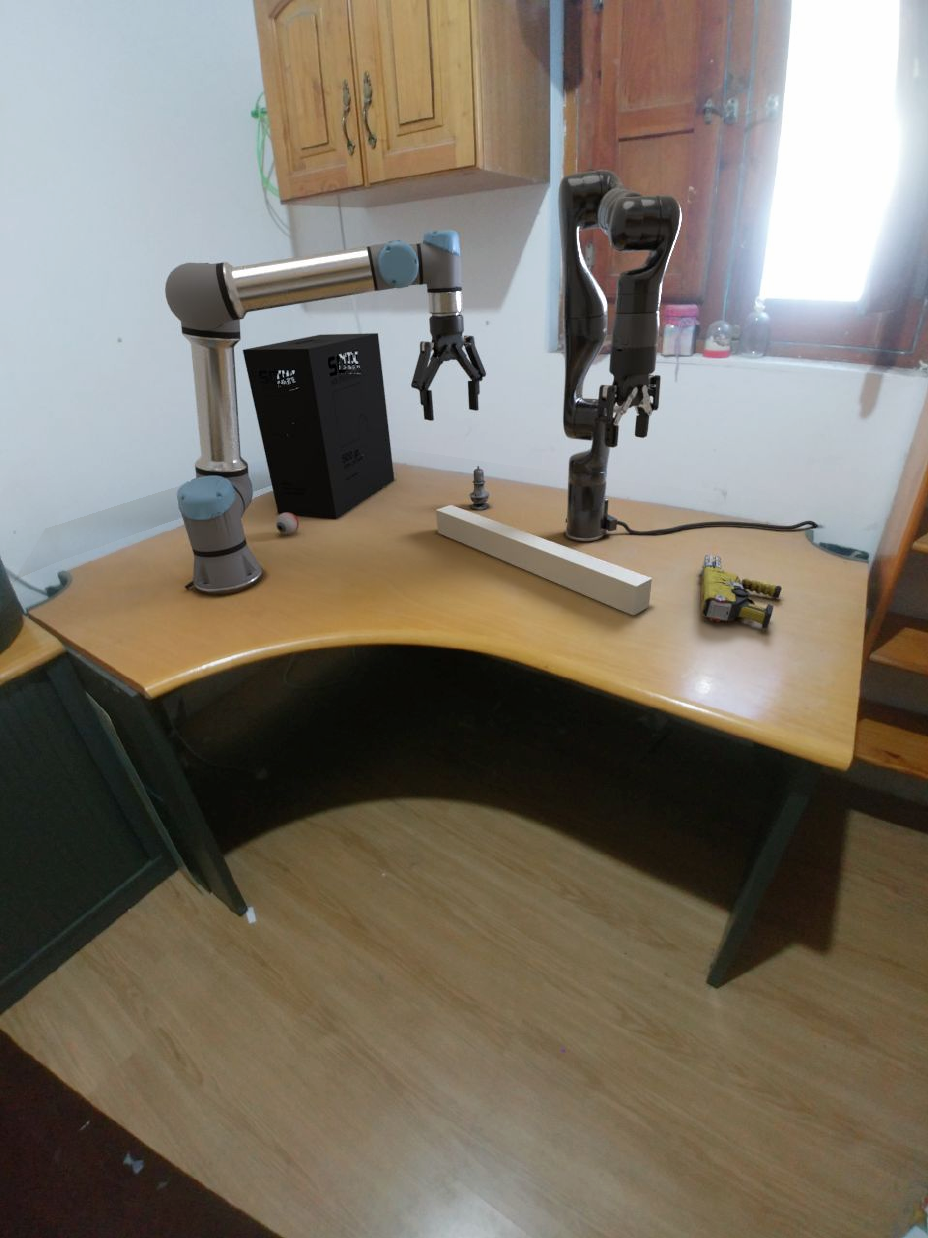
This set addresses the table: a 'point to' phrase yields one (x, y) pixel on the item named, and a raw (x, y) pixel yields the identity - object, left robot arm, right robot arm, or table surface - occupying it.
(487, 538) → the bar
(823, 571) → the table surface
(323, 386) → the cardboard box
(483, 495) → the salt shaker
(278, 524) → the eyeball
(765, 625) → the toy gun
